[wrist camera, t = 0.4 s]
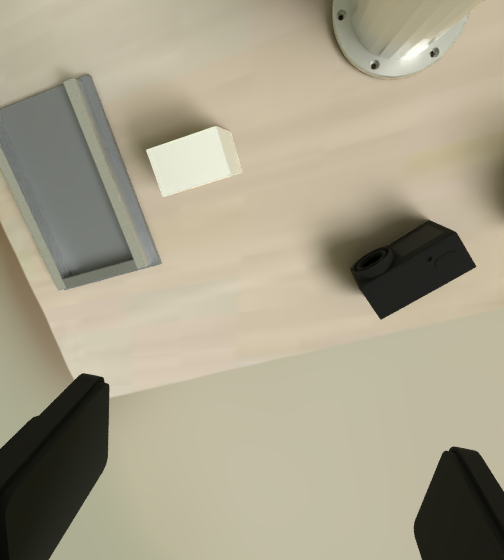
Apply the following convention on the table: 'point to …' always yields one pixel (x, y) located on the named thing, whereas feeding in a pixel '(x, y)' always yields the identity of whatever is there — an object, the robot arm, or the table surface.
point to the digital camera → (411, 267)
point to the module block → (194, 160)
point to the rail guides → (6, 158)
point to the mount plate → (73, 179)
